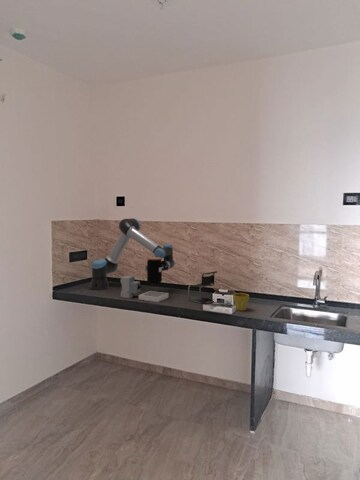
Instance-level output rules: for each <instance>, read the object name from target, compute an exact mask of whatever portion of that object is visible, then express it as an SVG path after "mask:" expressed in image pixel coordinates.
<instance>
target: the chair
mask: <svg viewBox="0 0 360 480" xmlns="http://www.w3.org/2000/svg"><path fill="white" fill-rule="evenodd" d="M217 273H218V271H217V270H214V271H210V272H202V274H201V283H198V284H190V285H189V286H188V288H187V292H188V293H187V298H188V300H189V301H191V302H194V303H199V304H202V305H205V304H204V303H205V302H204V301H199V300H195V299H191V297H190V296H191V295H190V294H191V293H190V292H191V290H190V289H191V288H196V289H199V293H198V295H199V297H200V298H201V299H203V300H208V301H211V300H212V298H210V297H209V298H208V297H203V296H202V288H204V287H213V286H214V285H215V274H217ZM204 275H209V276H204Z"/></svg>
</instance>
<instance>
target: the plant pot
mask: <svg viewBox="0 0 360 480" xmlns="http://www.w3.org/2000/svg"><path fill="white" fill-rule="evenodd" d="M232 300H233V301H234V302H233V303H234V307H235V306H236V308H235V310H236V311H241V312H243V311H246V310H247V307H248V306H247V305H248V301H249V300H250V295H249V294H248V293H243V292H238V293H237V292H236V293H233V294H232Z"/></svg>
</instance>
